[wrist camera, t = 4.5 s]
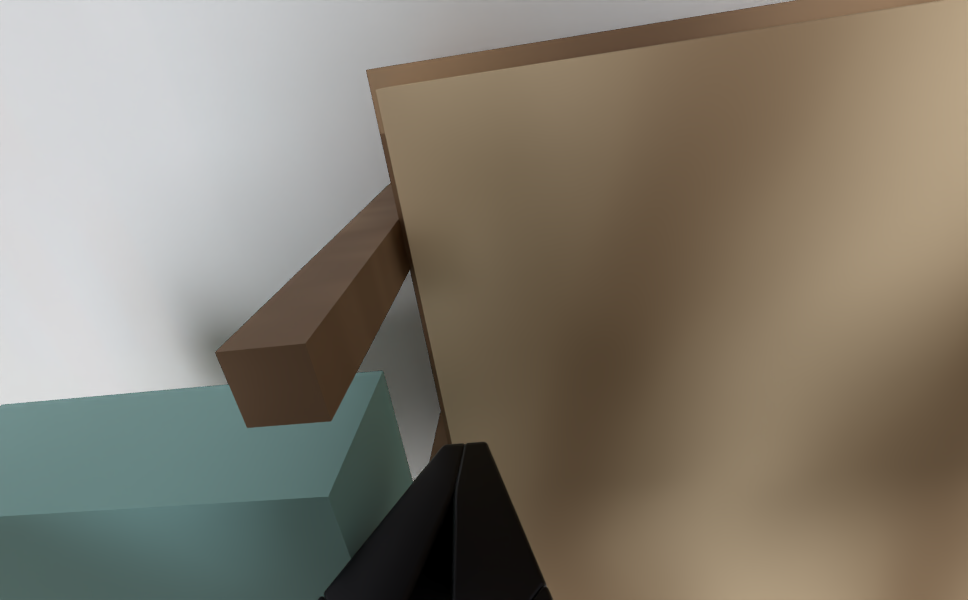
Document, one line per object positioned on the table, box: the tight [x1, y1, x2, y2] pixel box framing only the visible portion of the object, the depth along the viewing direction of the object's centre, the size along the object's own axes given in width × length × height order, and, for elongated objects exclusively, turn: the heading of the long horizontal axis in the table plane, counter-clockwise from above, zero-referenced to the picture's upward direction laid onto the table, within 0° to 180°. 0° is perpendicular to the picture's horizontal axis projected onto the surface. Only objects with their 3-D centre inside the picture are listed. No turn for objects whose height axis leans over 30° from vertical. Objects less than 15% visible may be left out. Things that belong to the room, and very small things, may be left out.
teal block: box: [0, 371, 413, 600], centre depth 9 cm, size 8×3×3 cm, turn 98°
